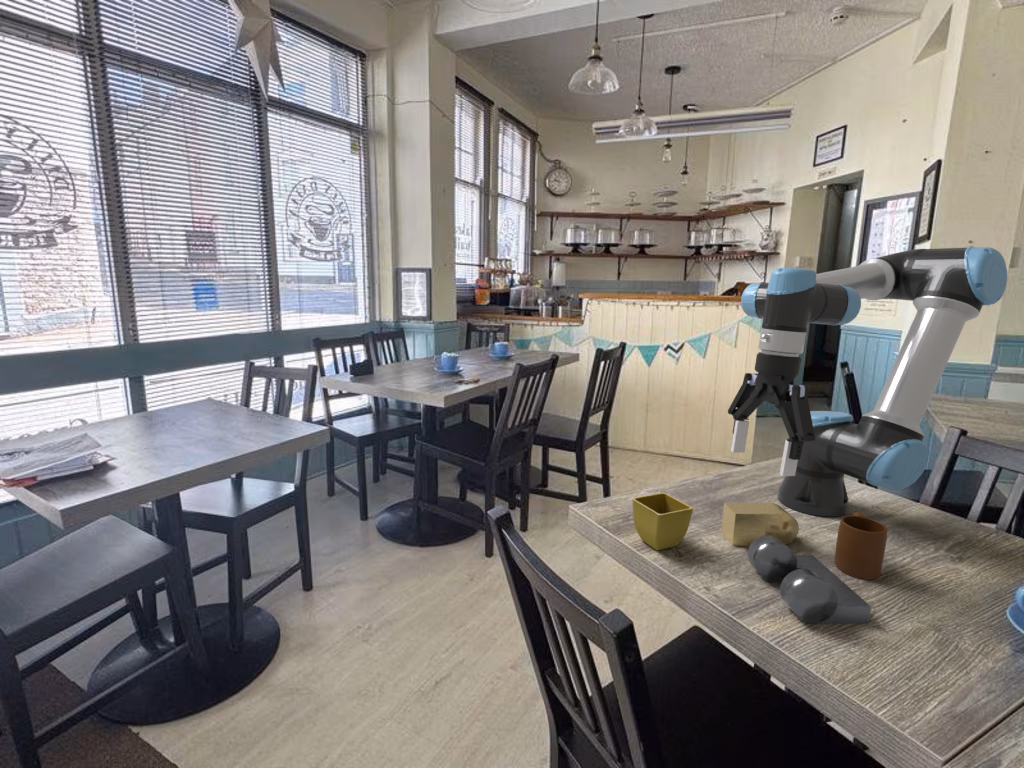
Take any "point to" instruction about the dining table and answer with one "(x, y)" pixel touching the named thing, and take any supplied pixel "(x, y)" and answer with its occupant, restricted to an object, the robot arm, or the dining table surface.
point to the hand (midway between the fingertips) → (760, 463)
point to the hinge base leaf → (807, 584)
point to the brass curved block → (757, 523)
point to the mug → (860, 546)
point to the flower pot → (661, 520)
